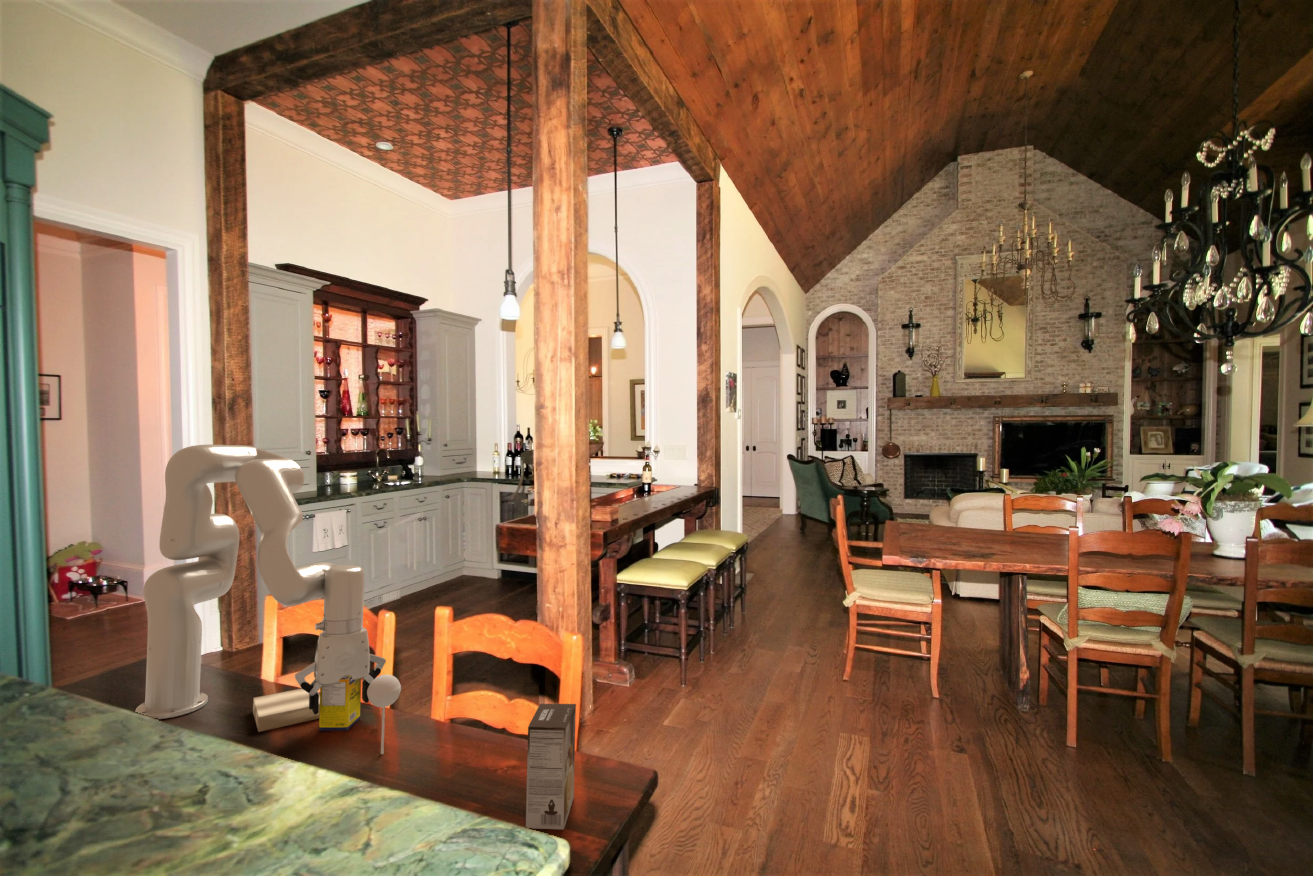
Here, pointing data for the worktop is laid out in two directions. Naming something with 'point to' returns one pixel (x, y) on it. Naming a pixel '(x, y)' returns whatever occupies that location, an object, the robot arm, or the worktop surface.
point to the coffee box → (550, 766)
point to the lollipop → (383, 696)
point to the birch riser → (283, 709)
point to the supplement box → (340, 705)
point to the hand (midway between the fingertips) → (340, 706)
